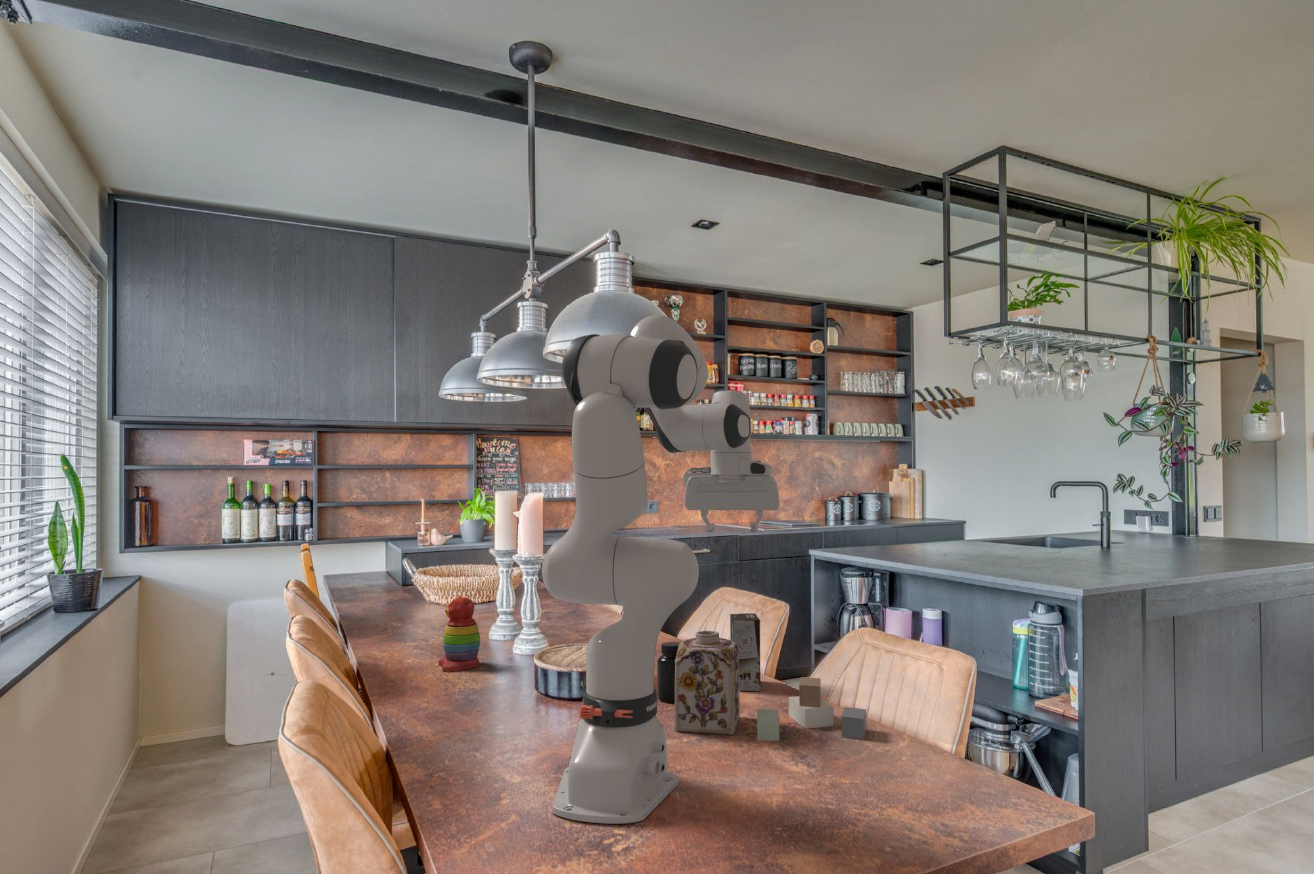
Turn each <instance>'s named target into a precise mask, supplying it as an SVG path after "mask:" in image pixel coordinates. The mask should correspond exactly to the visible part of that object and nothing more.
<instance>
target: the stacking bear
mask: <svg viewBox="0 0 1314 874" xmlns="http://www.w3.org/2000/svg"><path fill="white" fill-rule="evenodd" d="M474 611H475V603H474V602H473V600H472V599H470V598H469V597H466V596H465V597H463V596H461V595H458V597H455V598H454V599H452V600H451V602H450V603H449V605H448V606H447V607H446V608H445V611H444V612H445V614H446V617H447V618H448V619H449V620H448V621H447V622H446V626H445V630H444V634H443V638H442V639H443V640H442V642H443V644H442V646H443V650H444V655H445V656H441V658H439V659H438V661H437V662H438V664H437V665H438V666H440V665H441V666H440V667H441V670H442V671H443V672H444V671H446V672H445V673H451V672H450V671H455V672H460V670H462V671H466V670H465V669H467V670H470V668H471V669H474V668H476V667H478V666H480V660H479V657H478V654H479V649H480V647H481V635H480V634H481V633H480V631H479V630H480V629H479V625H478V623H477V621H476V620H475V619H474V618H473V616H474ZM473 667H474V668H473Z"/></svg>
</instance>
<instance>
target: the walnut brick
mask: <svg viewBox="0 0 1314 874" xmlns="http://www.w3.org/2000/svg"><path fill="white" fill-rule="evenodd" d="M821 681H822V680H821V677H807V676H805V677H804V676H803V677H802V676H801V677H800V678H799V684H798V691H799V692H798V694H799V704H800V706H811V707H820V704H821V699H822V690H821V688H822V687H821V686H822V685H821V684H822V683H821Z"/></svg>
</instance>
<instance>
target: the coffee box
mask: <svg viewBox="0 0 1314 874" xmlns="http://www.w3.org/2000/svg"><path fill="white" fill-rule="evenodd" d="M729 631H730V632H729V637H730V638H729V640H730V641H732V642H735V643H736V645H737V648H738V651H739V653H738V654H739V655H738V656H739V692H744V691H745V692H750V691H751V692H760V691H761V620H760V618H759V616H758V615H757V613H753V612H752V613H751V612H750V613H749V612H748V613H745V612H744V613H730V614H729Z"/></svg>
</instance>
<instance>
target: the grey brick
mask: <svg viewBox="0 0 1314 874" xmlns="http://www.w3.org/2000/svg"><path fill="white" fill-rule="evenodd" d="M840 717H841V738H843V739H853V740H859V741H861V740H862V741H864V740H865V737H866V733H867V709H866V708H859V707H858V708H857V707H847V706H845V707H844V709H843V711H842V713H841V716H840Z"/></svg>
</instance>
